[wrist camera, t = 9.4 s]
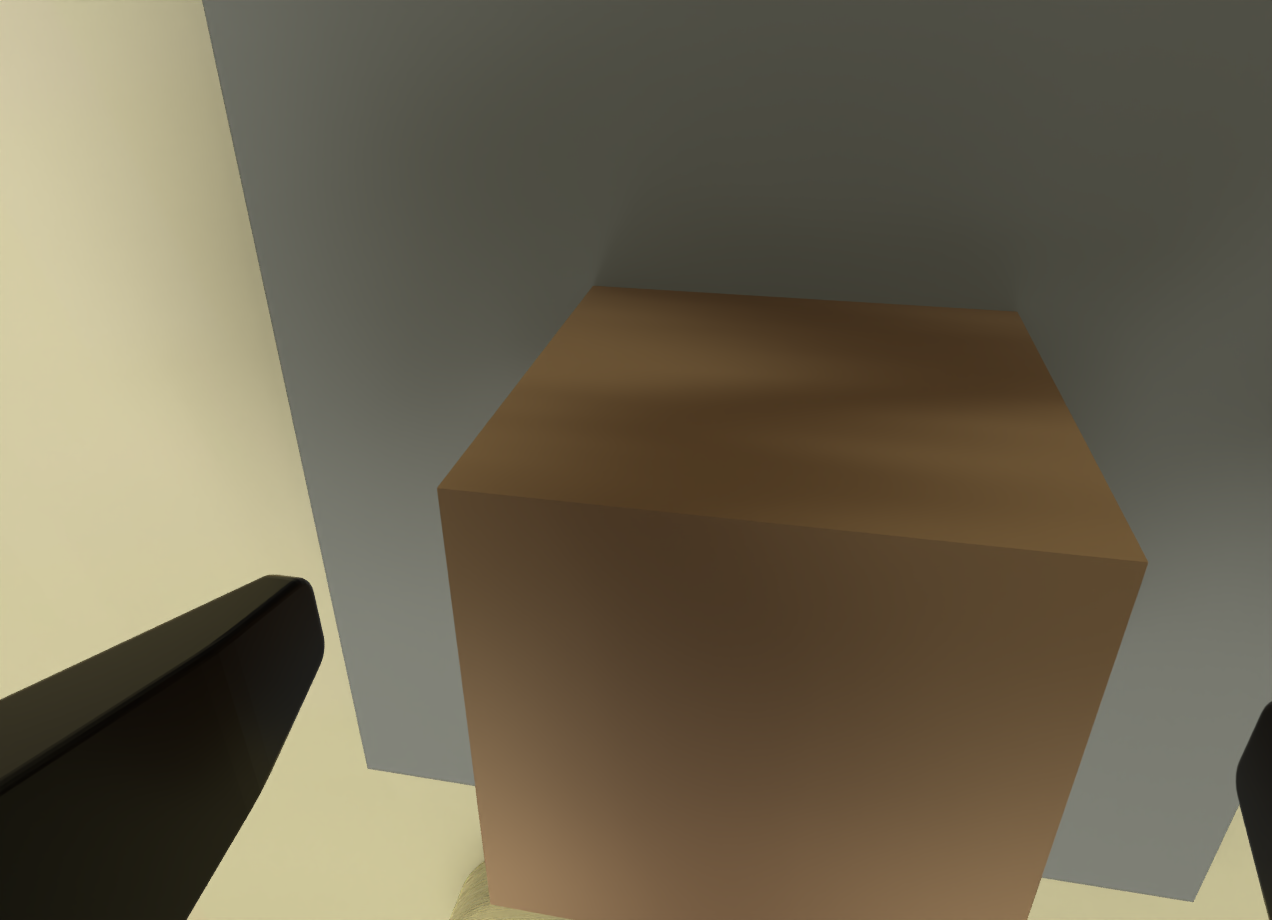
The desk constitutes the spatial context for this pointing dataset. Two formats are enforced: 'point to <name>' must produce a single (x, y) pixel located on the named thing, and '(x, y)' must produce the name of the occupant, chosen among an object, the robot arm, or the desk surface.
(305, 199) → the mat
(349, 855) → the desk surface
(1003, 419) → the walnut block
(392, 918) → the desk surface
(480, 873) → the tin
